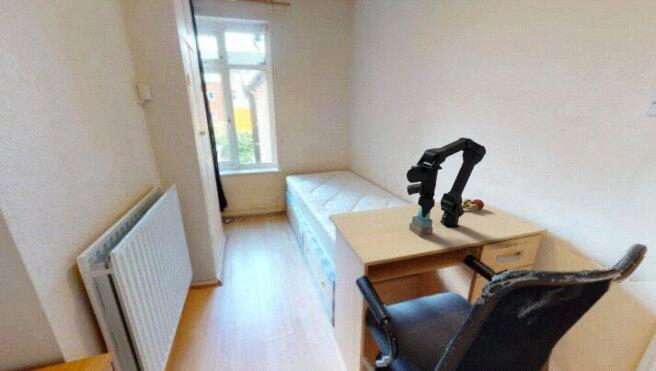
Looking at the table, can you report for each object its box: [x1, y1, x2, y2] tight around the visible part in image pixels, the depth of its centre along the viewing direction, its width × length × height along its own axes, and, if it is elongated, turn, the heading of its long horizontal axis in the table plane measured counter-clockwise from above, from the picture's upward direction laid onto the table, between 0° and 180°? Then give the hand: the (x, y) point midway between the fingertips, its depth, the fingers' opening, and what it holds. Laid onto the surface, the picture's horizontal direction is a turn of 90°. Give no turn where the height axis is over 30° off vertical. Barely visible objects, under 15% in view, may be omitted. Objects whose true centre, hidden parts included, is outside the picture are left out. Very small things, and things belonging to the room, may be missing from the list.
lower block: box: [408, 222, 434, 237], centre depth 115 cm, size 7×7×4 cm
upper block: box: [411, 215, 434, 229], centre depth 114 cm, size 6×6×4 cm
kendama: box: [461, 198, 485, 213], centre depth 138 cm, size 8×6×18 cm
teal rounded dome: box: [416, 206, 432, 221], centre depth 112 cm, size 5×5×4 cm
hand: (424, 213), depth 112 cm, fingers open, 8 cm apart
